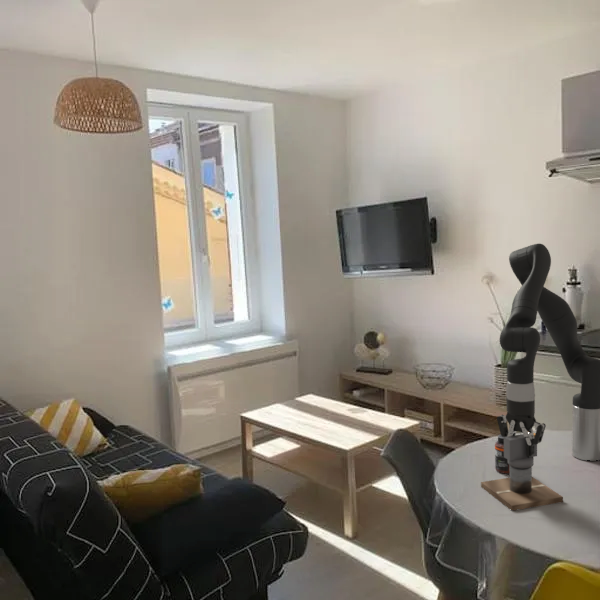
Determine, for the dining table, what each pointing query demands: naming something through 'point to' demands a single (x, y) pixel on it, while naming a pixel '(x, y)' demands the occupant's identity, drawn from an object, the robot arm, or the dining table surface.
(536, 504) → the base
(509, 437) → the wing cap
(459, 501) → the dining table surface
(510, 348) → the robot arm
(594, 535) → the dining table surface
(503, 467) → the supplement bottle
